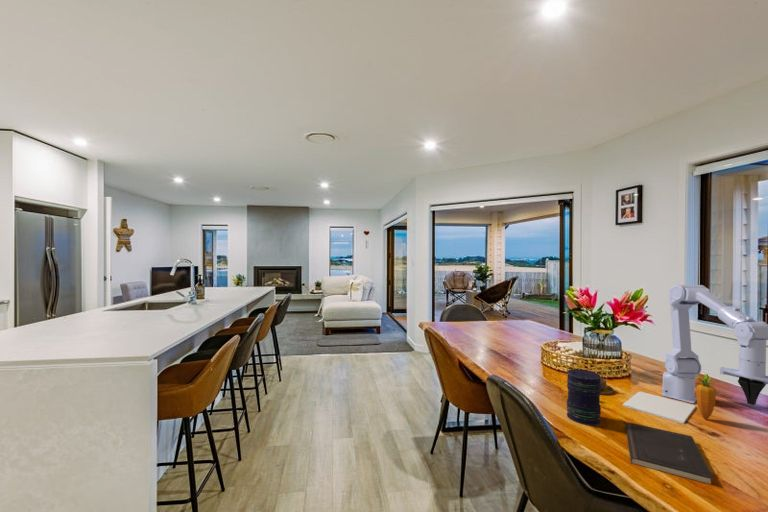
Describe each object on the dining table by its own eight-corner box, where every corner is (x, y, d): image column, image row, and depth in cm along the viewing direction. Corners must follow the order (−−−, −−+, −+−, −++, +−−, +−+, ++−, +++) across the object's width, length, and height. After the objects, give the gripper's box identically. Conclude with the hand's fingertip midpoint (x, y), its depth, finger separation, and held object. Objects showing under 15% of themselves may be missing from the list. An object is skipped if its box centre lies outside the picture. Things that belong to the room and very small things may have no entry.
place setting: (628, 398, 135) (628, 383, 135) (586, 403, 129) (587, 387, 129) (590, 382, 152) (590, 368, 152) (552, 386, 146) (552, 372, 146)
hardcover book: (691, 443, 102) (691, 436, 102) (713, 487, 82) (713, 478, 82) (625, 428, 110) (625, 421, 110) (630, 465, 91) (630, 456, 91)
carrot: (709, 423, 113) (709, 378, 113) (691, 417, 118) (692, 373, 118) (719, 422, 114) (720, 376, 114) (702, 415, 119) (703, 371, 119)
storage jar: (600, 416, 118) (601, 363, 118) (601, 428, 109) (601, 371, 109) (567, 409, 123) (567, 358, 123) (565, 420, 114) (566, 366, 114)
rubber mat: (622, 405, 126) (622, 404, 126) (639, 392, 139) (639, 391, 139) (683, 423, 113) (683, 422, 113) (695, 407, 126) (695, 405, 126)
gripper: (791, 365, 103) (790, 410, 104) (726, 352, 116) (725, 393, 116) (783, 368, 100) (782, 415, 100) (717, 355, 113) (716, 396, 113)
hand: (751, 403), depth 108 cm, fingers closed
